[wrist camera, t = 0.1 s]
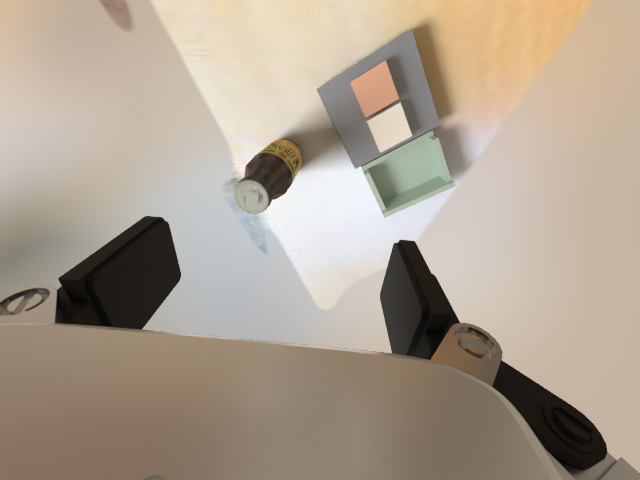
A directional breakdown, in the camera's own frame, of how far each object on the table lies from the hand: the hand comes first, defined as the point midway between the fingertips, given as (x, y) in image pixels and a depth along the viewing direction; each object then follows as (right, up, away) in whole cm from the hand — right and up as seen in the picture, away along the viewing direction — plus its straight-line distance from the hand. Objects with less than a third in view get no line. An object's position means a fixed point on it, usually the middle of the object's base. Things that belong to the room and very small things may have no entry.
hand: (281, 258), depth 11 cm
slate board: (+11, +22, +30) cm, 38 cm away
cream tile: (+12, +18, +29) cm, 36 cm away
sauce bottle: (-5, +16, +35) cm, 38 cm away
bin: (+16, +13, +35) cm, 40 cm away
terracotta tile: (+9, +22, +26) cm, 35 cm away
